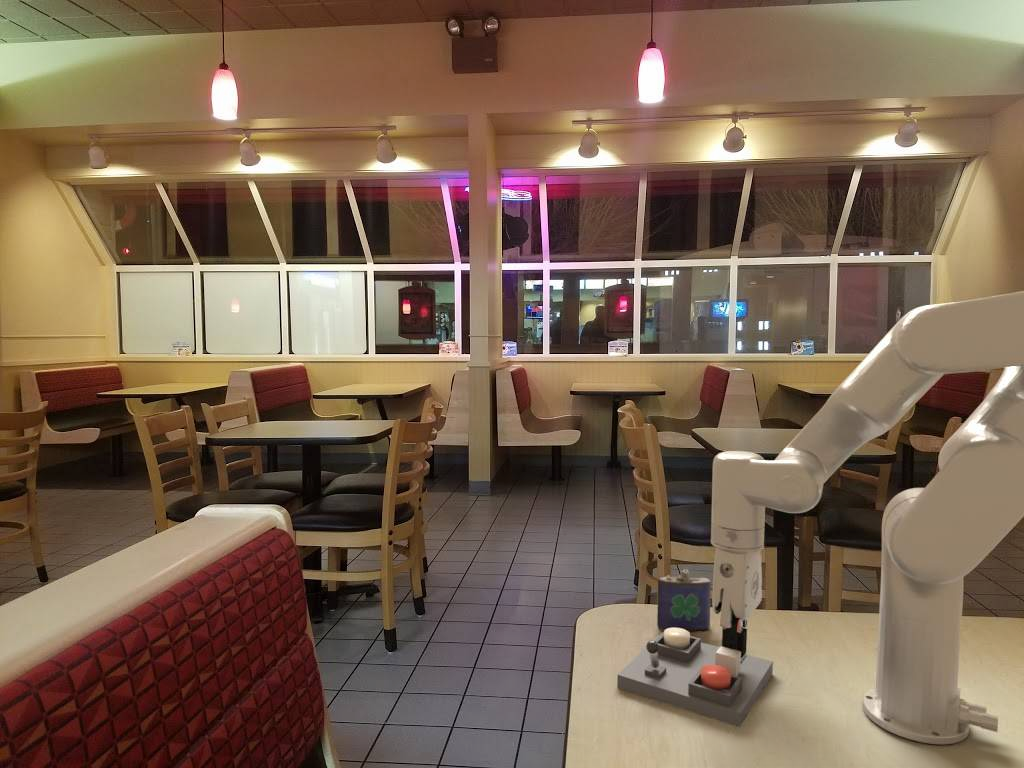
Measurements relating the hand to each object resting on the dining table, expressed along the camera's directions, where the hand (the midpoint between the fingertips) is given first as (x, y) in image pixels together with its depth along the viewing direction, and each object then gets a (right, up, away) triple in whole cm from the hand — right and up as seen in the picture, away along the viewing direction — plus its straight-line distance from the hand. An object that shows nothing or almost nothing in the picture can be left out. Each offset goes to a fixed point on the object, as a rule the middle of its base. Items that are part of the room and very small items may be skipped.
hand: (734, 653), depth 105 cm
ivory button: (-7, 0, +5) cm, 9 cm away
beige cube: (-2, -2, -2) cm, 3 cm away
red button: (-5, -1, -7) cm, 9 cm away
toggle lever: (-12, -1, -2) cm, 12 cm away
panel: (-6, -4, 0) cm, 7 cm away
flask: (-3, -3, +18) cm, 18 cm away
